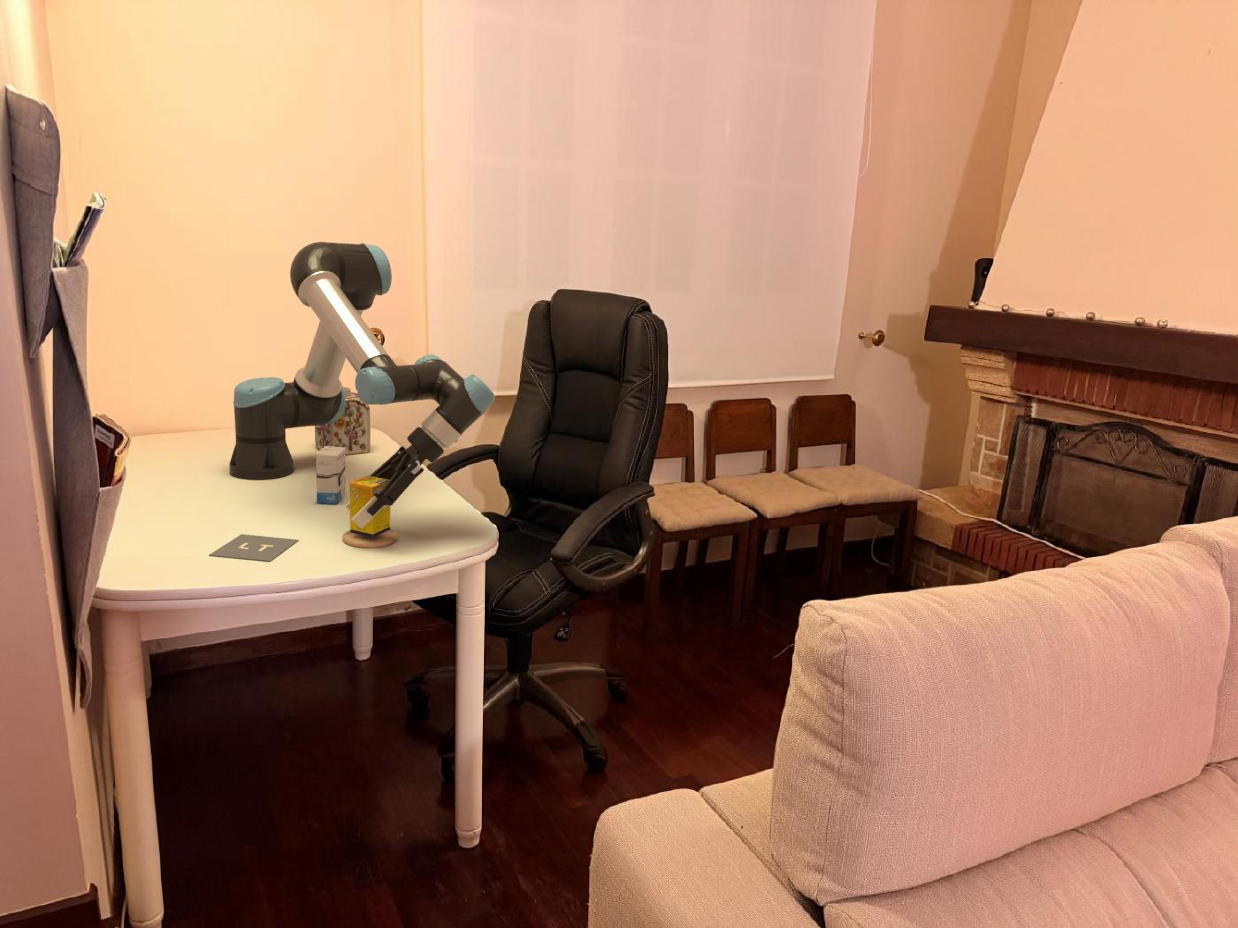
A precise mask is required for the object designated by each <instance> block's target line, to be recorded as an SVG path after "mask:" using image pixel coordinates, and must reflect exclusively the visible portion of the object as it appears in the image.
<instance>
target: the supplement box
mask: <svg viewBox="0 0 1238 928" xmlns="http://www.w3.org/2000/svg"><path fill="white" fill-rule="evenodd" d="M388 481H389V480H387V479H382V478H377V477H372V476H370V475H366V476H363V477H361V478H357V479H355V480H352V481H349V482H348V484H349V485H348V487H349V501H350V510H349V531H350V533H354V534H358V535H363V536H367V537H372V538H373V537H375V536H377V535H379V534H382V533H384V532H386V531H388V530H391V506H389V505H387V506H386V505H385V506H384V507H383V508H382V509H381V510H380V511H379V512H378V513H377V514H376V515H375V516H374V517H373V518H372V519H371V520H370V521H369V522H368V523H367V524H366V525H365V526H364V527H363V528H362V529H361V528H360V527H359V526H358V525H357V524H355V523H354V522H353V521H352V520H351V519H352V518H353V517H354V516H355V515H356V514H357V513H358V512H359V511H360V510H361V509H362V508H363V507H364V506H365V505H366V504H367V503H368V502H369V501H370V500H371V499H372V498H373V497H374V494H375V493H378V494H379V493H380V492H381V491H382V489H383V488H384V487H385V485H386V484H387V483H388Z"/></svg>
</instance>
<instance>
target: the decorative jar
mask: <svg viewBox="0 0 1238 928" xmlns="http://www.w3.org/2000/svg"><path fill="white" fill-rule="evenodd" d="M343 388H344V391H345V395H346V398H345V402H346V405H345V410H344V412H343V414H342V416H341V417H340V418H339V419H338V420H337V421H335V422H333V423H328V424H325V425H316V426H314V444H315V445H314V446H315V448H316V449H317V450H319V451H320V450H321V449H322V448H324V447H325V446H333V447H345V456H353V455H360V454H361V455H362V454H370V453H371V407H370V405H368V404H365V403H364V402H362V401H361V400H360V398H359V397H358V395H357V393H358V392H352V391H351V387H348V386H343Z"/></svg>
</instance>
